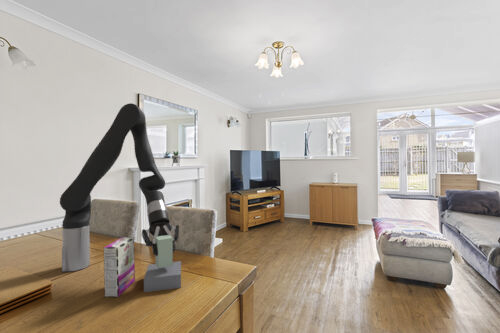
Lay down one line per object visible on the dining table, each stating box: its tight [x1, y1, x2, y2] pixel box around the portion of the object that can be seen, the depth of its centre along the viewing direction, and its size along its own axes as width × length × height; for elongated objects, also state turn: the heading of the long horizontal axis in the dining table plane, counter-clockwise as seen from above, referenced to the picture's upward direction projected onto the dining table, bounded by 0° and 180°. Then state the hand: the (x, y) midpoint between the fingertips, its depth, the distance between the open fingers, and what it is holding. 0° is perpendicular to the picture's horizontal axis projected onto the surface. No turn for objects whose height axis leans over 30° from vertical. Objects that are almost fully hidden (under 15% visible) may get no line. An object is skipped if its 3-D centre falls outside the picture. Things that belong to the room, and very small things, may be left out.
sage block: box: [154, 235, 174, 268], centre depth 89 cm, size 5×5×10 cm
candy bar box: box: [103, 236, 136, 298], centre depth 84 cm, size 11×5×16 cm, turn 179°
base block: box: [143, 260, 182, 293], centre depth 89 cm, size 12×12×5 cm
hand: (165, 253), depth 88 cm, fingers closed on sage block, 5 cm apart
